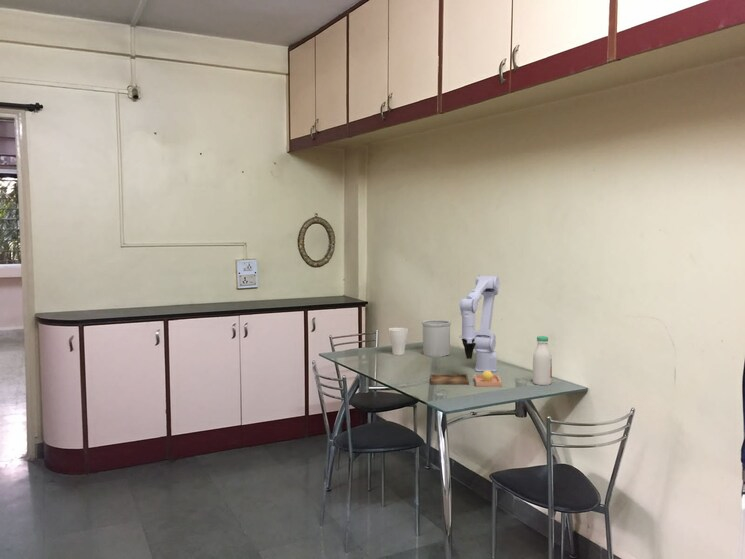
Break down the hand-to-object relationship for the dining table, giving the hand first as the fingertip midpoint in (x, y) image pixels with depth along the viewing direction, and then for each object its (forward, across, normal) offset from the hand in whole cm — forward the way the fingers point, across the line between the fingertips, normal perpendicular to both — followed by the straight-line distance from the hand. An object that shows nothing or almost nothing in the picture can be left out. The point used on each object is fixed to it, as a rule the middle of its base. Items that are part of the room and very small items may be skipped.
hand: (468, 356), depth 271 cm
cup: (+10, -52, -34) cm, 63 cm away
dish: (+10, +6, +8) cm, 14 cm away
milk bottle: (+10, +6, +31) cm, 33 cm away
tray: (+10, +4, -8) cm, 14 cm away
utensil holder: (+10, -52, -14) cm, 55 cm away
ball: (+7, +6, +8) cm, 12 cm away
